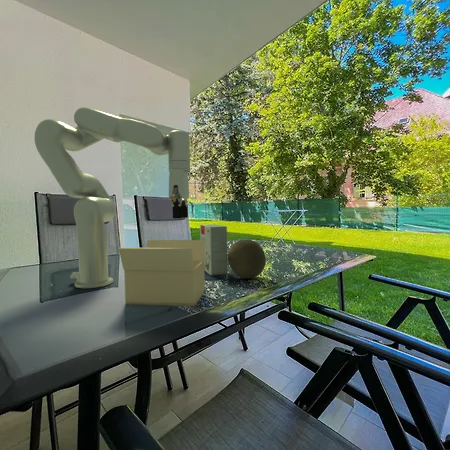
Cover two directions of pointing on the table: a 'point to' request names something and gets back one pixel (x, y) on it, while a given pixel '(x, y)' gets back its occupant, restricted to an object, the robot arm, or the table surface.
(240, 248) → the cantaloupe
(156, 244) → the back flap
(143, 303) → the cardboard box
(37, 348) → the table surface
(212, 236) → the hard drive box
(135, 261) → the front flap
